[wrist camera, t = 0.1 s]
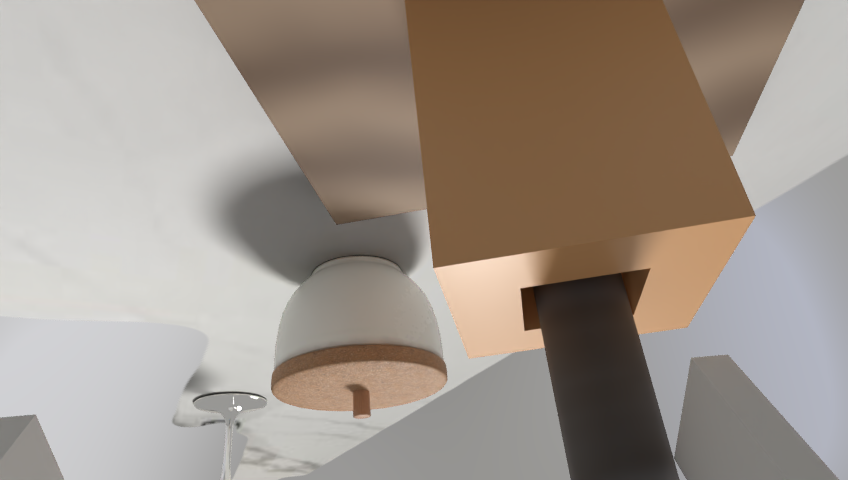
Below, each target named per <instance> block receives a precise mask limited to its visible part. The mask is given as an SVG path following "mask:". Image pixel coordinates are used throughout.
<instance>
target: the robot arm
mask: <svg viewBox="0 0 848 480" xmlns="http://www.w3.org/2000/svg"><path fill="white" fill-rule="evenodd" d="M674 459H675V460H676V462H677V464H678V466H679V467H680V469H681V471H682V472H683V474H684V476H685V478H686V479H687V480H839V479H838V478H837V477H836V476H835V475H834V473H833V472H832V471H831V470H830V469H829V468H828V467H827V465H826V464H825V463H824V462H823V461H822V460H821V459H820V458H819V456H818V455H817V454H816V453H815V452H814V451H813V450H812V449H811V448H810V447H809V445H808V444H807V443H806V442H805V441H804V440H803V438H802V437H801V436H800V435H799V434H798V433H797V432H796V431H795V430H794V428H793V427H792V426H791V425H790V424H789V423H788V422H787V421H786V420H785V418H784V417H783V416H782V415H781V414H780V413H779V412H778V410H777V409H776V408H775V407H774V406H773V405H772V404H771V403H770V402H769V401H768V399H767V398H766V397H765V396H764V395H763V394H762V392H760V390H759V389H758V388H757V387H756V386H755V385H754V384H753V383H752V381H751V380H750V379H749V378H748V377H747V376H746V375H745V373H744V372H743V371H742V370H741V369H740V368H739V367H738V366H737V364H736V363H735V362H734V361H733V360H732V359H731V358H730V357H729V355H718V356H707V357H695V358H691V361H690V368H689V374H688V379H687V385H686V391H685V397H684V403H683V409H682V415H681V421H680V427H679V433H678V439H677V445H676V451H675V457H674ZM0 480H64V478H63V476H62V474H61V471H60V469H59V467H58V464H57V462H56V460H55V457H54V455H53V453H52V451H51V448H50V446H49V444H48V442H47V439H46V437H45V435H44V432H43V430H42V428H41V426H40V423H39V421H38V419H37V416H36V415H25V416H14V417H2V418H0Z"/></svg>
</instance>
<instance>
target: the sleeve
mask: <svg viewBox="0 0 848 480" xmlns="http://www.w3.org/2000/svg"><path fill="white" fill-rule="evenodd" d="M405 8H406V18H407V27H408V36H409V45H410V55H411V64H412V73H413V83H414V92H415V101H416V110H417V120H418V129H419V138H420V147H421V157H422V166H423V175H424V184H425V194H426V203H427V212H428V222H429V231H430V240H431V249H432V259H433V268H434V271H435V273H436V276H437V278H438V281H439V283H440V286H441V288H442V291H443V294H444V296H445V299H446V301H447V304H448V306H449V309H450V311H451V314H452V317H453V319H454V322H455V324H456V327H457V329H458V332H459V334H460V337H461V340H462V342H463V345H464V347H465V350H466V352H467V355H468V357H469V359H470V358H477V357H484V356H491V355H498V354H505V353H512V352H519V351H526V350H533V349H540V348H545V346H544V341H543V336H542V331H541V326H540V321H539V316H538V311H537V306H536V301H535V296H534V291H533V286H539V285H545V284H552V283H558V282H565V281H571V280H577V279H584V278H590V277H597V276H603V275H609V274H616V273H621V275H622V279H623V282H624V286H625V289H626V293H627V296H628V300H629V303H630V307H631V310H632V314H633V317H634V321H635V324H636V328H637V332H638V334H645V333H652V332H659V331H665V330H673V329H679V328H686V327H688V326H689V324H690V322H691V321H692V319H693V317H694V316H695V314H696V312H697V311H698V309H699V308H700V306H701V304H702V303H703V301H704V299H705V298H706V296H707V295H708V293H709V291H710V290H711V288H712V286H713V285H714V283H715V281H716V280H717V278H718V277H719V275H720V273H721V272H722V270H723V268H724V266H725V265H726V263H727V262H728V260H729V259H730V257H731V255H732V254H733V252H734V250H735V249H736V247H737V246H738V244H739V242H740V241H741V239H742V237H743V236H744V234H745V232H746V231H747V229H748V227H749V226H750V224H751V223H752V221H753V219H754V218H755V216H756V215H755V213H754V211H753V208H752V206H751V204H750V201H749V199H748V197H747V194H746V192H745V190H744V187H743V185H742V183H741V181H740V178H739V176H738V174H737V171H736V169H735V167H734V164H733V162H732V160H731V157H730V155H729V153H728V150H727V148H726V146H725V144H724V141H723V139H722V137H721V134H720V132H719V130H718V127H717V125H716V123H715V120H714V118H713V116H712V113H711V111H710V109H709V107H708V104H707V102H706V100H705V97H704V95H703V93H702V90H701V88H700V86H699V83H698V81H697V79H696V76H695V74H694V72H693V70H692V67H691V65H690V63H689V60H688V58H687V56H686V53H685V51H684V49H683V46H682V44H681V42H680V39H679V37H678V35H677V33H676V30H675V28H674V26H673V23H672V21H671V19H670V16H669V14H668V12H667V9H666V7H665V5H664V3H663V0H405Z"/></svg>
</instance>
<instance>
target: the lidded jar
mask: <svg viewBox="0 0 848 480" xmlns="http://www.w3.org/2000/svg"><path fill="white" fill-rule="evenodd" d="M446 382H447V369H446V364H445V362H444V360H443V350H442V343H441V336H440V331H439V327H438V323H437V319H436V317H435V314H434V311H433V308H432V306H431V304H430V302H429V300H428V298H427V297H426V295H425V293H424V292H423V291H422V290H421V288H420V287H419V286H418V285H417V284H416V283H415V282H414V281H413V280H412V279H411V278H410V277H408V276H407V275H405V274H404V273H402V271H401V269H400V268H399V267H398V265H396V264H395V263H393V262H391V261H389V260H386V259H383V258H379V257H373V256H347V257H341V258H337V259H333V260H330V261H327V262H325V263H323V264H321V265H320V266H318V267H317V268H316V269H315V270H314V271H313V273H312V276H311V277H309V278H308V279H307V280H306V281H304V282H303V283H302V284H301V285H300V286H299V287H298V288H297V289H296V291H295V292H294V294H293V295H292V296H291V298H290V300H289V301H288V303H287V305H286V307H285V309H284V311H283V314H282V318H281V321H280V324H279V329H278V334H277V340H276V346H275V358H274V371H273V374H272V381H271V390H272V393H273V395H274V396H275V397H276V398H277V399H279V400H280V401H282V402H284V403H287V404H290V405H293V406H297V407H301V408H307V409H314V410H326V411H353V417H354V418H358V419H362V418H368V417H370V416H371V414H370V410H371V409H380V408H387V407H393V406H398V405H403V404H407V403H411V402H414V401H418V400H420V399H423V398H426V397H428V396H430V395H432V394H435V393H436V392H438V391H439V390H441V389H442V388H443V387H444V385H445V384H446Z"/></svg>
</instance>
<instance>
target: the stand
mask: <svg viewBox="0 0 848 480" xmlns="http://www.w3.org/2000/svg"><path fill="white" fill-rule="evenodd" d="M195 2H196V3H197V5H198V7H199V8H200V10H201V11H202V13H203V15H204V16H205V18H206V19H207V21H208V22H209V24H210V26H211V27H212V29H213V30H214V32H215V33H216V35H217V37H218V38H219V40H220V41H221V43H222V45H223V46H224V48H225V49H226V51H227V52H228V54H229V56H230V57H231V59H232V60H233V62H234V64H235V65H236V67H237V68H238V70H239V71H240V73H241V75H242V76H243V78H244V79H245V81H246V82H247V84H248V86H249V87H250V89H251V90H252V92H253V94H254V95H255V97H256V98H257V100H258V101H259V103H260V105H261V106H262V108H263V109H264V111H265V113H266V114H267V116H268V117H269V119H270V120H271V122H272V124H273V125H274V127H275V128H276V130H277V132H278V133H279V135H280V136H281V138H282V139H283V141H284V143H285V144H286V146H287V147H288V149H289V150H290V152H291V154H292V155H293V157H294V158H295V160H296V162H297V163H298V165H299V166H300V168H301V169H302V171H303V173H304V174H305V176H306V177H307V179H308V181H309V182H310V184H311V185H312V187H313V188H314V190H315V192H316V193H317V195H318V196H319V198H320V199H321V201H322V203H323V204H324V206H325V207H326V209H327V211H328V212H329V214H330V215H331V217H332V218H333V220H334V222H335V223H336V225H338V224H344V223H350V222H355V221H361V220H367V219H373V218H378V217H384V216H390V215H395V214H401V213H407V212H413V211H418V210H424V209H427V203H426V194H425V184H424V175H423V166H422V157H421V147H420V138H419V129H418V120H417V110H416V101H415V92H414V83H413V73H412V64H411V55H410V45H409V36H408V27H407V18H406V8H405V0H195ZM663 3H664V5H665V7H666V9H667V12H668V14H669V16H670V19H671V21H672V23H673V26H674V28H675V30H676V33H677V35H678V37H679V39H680V42H681V44H682V46H683V49H684V51H685V53H686V56H687V58H688V60H689V63H690V65H691V67H692V70H693V72H694V74H695V76H696V79H697V81H698V83H699V86H700V88H701V90H702V93H703V95H704V97H705V100H706V102H707V104H708V107H709V109H710V111H711V113H712V116H713V118H714V120H715V123H716V125H717V127H718V130H719V132H720V134H721V137H722V139H723V141H724V144H725V146H726V148H727V150H728V153H729V155H730V156H733V154H734V152H735V149H736V147H737V145H738V143H739V141H740V139H741V137H742V134H743V132H744V130H745V128H746V126H747V124H748V121H749V119H750V117H751V115H752V113H753V111H754V108H755V106H756V104H757V102H758V100H759V98H760V95H761V93H762V91H763V89H764V87H765V85H766V83H767V80H768V78H769V76H770V74H771V72H772V70H773V67H774V65H775V63H776V61H777V59H778V57H779V54H780V52H781V50H782V48H783V46H784V44H785V42H786V39H787V37H788V35H789V33H790V31H791V29H792V26H793V24H794V22H795V20H796V18H797V16H798V13H799V11H800V9H801V7H802V5H803V3H804V0H663ZM533 291H534V296H535V301H536V306H537V311H538V316H539V321H540V326H541V331H542V336H543V341H544V346H545V351H546V356H547V362H548V367H549V372H550V377H551V382H552V386H553V392H554V397H555V402H556V407H557V412H558V417H559V422H560V427H561V432H562V437H563V442H564V447H565V453H566V458H567V462H568V467H569V473H570V478H571V480H679V477H678V473H677V469H676V466H675V462H674V459H673V455H672V452H671V448H670V445H669V441H668V438H667V434H666V430H665V427H664V424H663V420H662V416H661V413H660V409H659V406H658V402H657V399H656V395H655V392H654V388H653V385H652V382H651V377H650V374H649V370H648V367H647V364H646V360H645V356H644V353H643V349H642V346H641V343H640V339H639V335H638V332H637V328H636V324H635V321H634V317H633V314H632V310H631V307H630V303H629V300H628V296H627V293H626V289H625V286H624V282H623V279H622V275H621V273H616V274H609V275H603V276H597V277H590V278H584V279H577V280H571V281H565V282H558V283H552V284H545V285H539V286H533Z"/></svg>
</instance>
